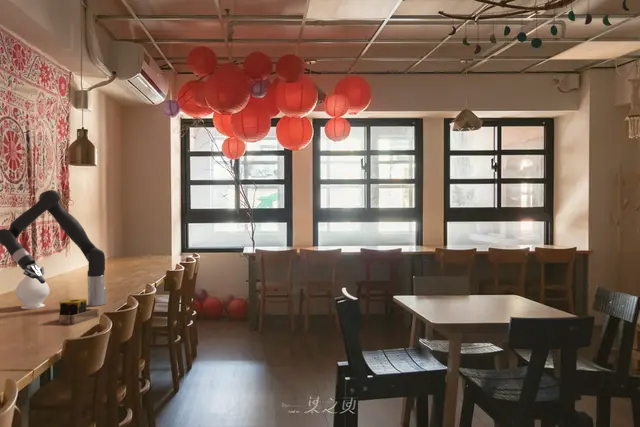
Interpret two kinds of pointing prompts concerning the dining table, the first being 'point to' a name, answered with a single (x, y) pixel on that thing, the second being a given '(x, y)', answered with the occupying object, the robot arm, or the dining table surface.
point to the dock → (79, 317)
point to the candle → (73, 306)
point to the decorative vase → (32, 292)
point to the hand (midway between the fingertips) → (43, 282)
